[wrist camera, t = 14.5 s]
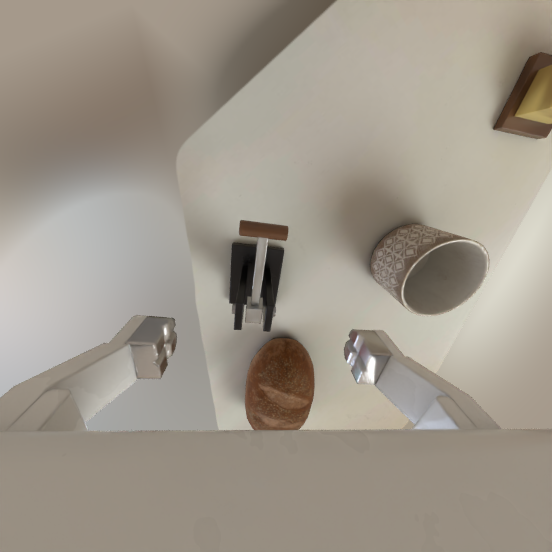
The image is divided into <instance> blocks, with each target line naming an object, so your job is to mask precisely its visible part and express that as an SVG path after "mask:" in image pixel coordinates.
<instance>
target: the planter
mask: <svg viewBox="0 0 552 552" xmlns="http://www.w3.org/2000/svg"><path fill="white" fill-rule="evenodd" d="M370 267H371V273H372V275H373V277H374V279H375V280H376V281H377V282H378V283H379V284H380V285H381V286H382V287H383V288H384V289H385V290H386V291H388V292H389V293H390V294H391V295H392V296H393V297H394V298H395V299H396V300H398V301H399V302H400V303H401V304H402V305H403V306H404V307H405V308H406V309H408V310H409V311H410V312H412V313H414V314H416V315H420V316H435V315H440V314H443V313H446V312H449V311H451V310H453V309H455V308H457V307H459V306H460V305H462V304H463V303H465V302H466V301H467V300H468V299H469V298H471V297H472V296H473V295H474V294H475V293H476V291H477V290H478V289H479V288H480V286H481V285H482V283H483V282H484V280H485V278H486V276H487V273H488V269H489V255H488V252H487V250H486V249H485V247H484V246H483V245H482V244H480V243H479V242H477V241H474V240H471V239H468V238H465V237H461V236H458V235H455V234H451V233H448V232H445V231H441V230H438V229H435V228H431V227H428V226H424V225H420V224H410V225H405V226H402V227H399V228H397V229H395V230H393V231H392V232H390V233H389V234H387V235H386V236H385V237H384V238H383V239H382V240H381V241H380V242H379V244H378V245H377V247H376V248H375V250H374V252H373V255H372V258H371V264H370Z"/></svg>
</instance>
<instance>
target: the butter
mask: <svg viewBox="0 0 552 552" xmlns="http://www.w3.org/2000/svg"><path fill="white" fill-rule="evenodd" d="M551 129H552V55H549V54H545V53H542V52H540V53H538V54H535V55H533V56H531V57H529V59H528V61H527V63H526V65H525V67H524V69H523V71H522V73H521V75H520V77H519V79H518V81H517V83H516V85H515V87H514V89H513V91H512V93H511V95H510V97H509V99H508V101H507V103H506V105H505V107H504V109H503V111H502V113H501V115H500V117H499V119H498V121H497V123H496V125H495V127H494V130H498V131H503V132H507V133H512V134H517V135H521V136H526V137H530V138H535V139H540V138H546V137H547V136H548V134H549V133H550V131H551Z"/></svg>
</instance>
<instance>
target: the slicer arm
mask: <svg viewBox="0 0 552 552" xmlns="http://www.w3.org/2000/svg"><path fill="white" fill-rule="evenodd" d="M239 235H241V236H250V237H258V240H257V249H256V259H255V268H254V278H253V287H252V297H247V306H246V317H245V323H259V324H261V319H262V312H263V298H260V294H261V287H262V280H263V273H264V265H265V258H266V251H267V244H268V239H275V240H284V241H286V240H287V237H288V226H284V225H276V224H268V223H260V222H252V221H244V220H241V221H240V228H239Z"/></svg>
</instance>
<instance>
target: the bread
mask: <svg viewBox="0 0 552 552" xmlns="http://www.w3.org/2000/svg"><path fill="white" fill-rule="evenodd" d="M313 396H314V368H313V364H312V361H311V358H310V356H309V354H308V352H307V350H306V349H305V348H304V347H303V345H301V344H300V343H299V342H298V341H296V340H293V339H288V338H277V339H272V340H271V341H269V342H267V343H266V344H265V345H264V346H263V347H262V348H261V349H260V350H259V351H258V353H257V354H256V355H255V357H254V358H253V360H252V362H251V364H250V367H249V370H248V374H247V381H246V394H245V407H246V415H247V419H248V421H249V423H250V424H251V426H252V428H253V429H254V430H299V429H300V428H301V426H302V425H303V424H304V423H305V421H306V419H307V417H308V414H309V411H310V408H311V404H312V401H313Z"/></svg>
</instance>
